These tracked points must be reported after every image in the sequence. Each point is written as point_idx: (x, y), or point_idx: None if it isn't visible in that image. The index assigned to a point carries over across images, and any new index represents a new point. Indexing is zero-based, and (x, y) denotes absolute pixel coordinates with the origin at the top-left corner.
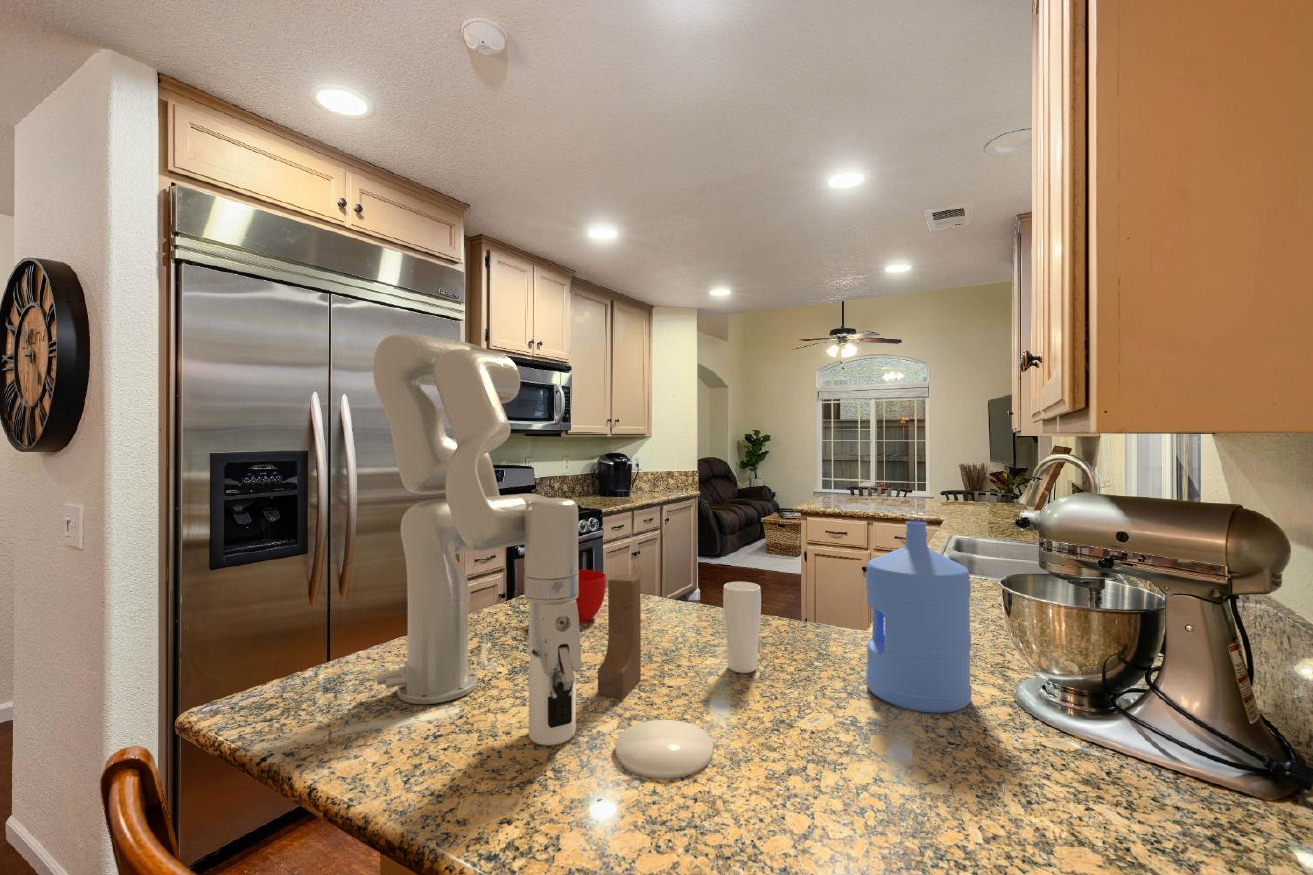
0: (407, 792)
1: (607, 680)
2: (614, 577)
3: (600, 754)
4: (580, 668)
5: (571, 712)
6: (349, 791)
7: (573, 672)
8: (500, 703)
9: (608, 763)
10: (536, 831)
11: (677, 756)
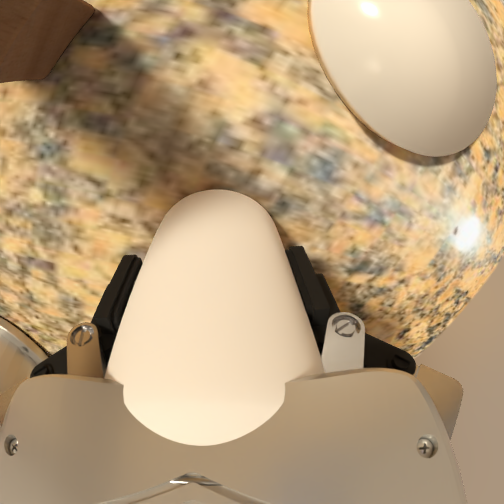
0: None
1: (34, 47)
2: None
3: (364, 169)
4: (413, 376)
5: (309, 262)
6: None
7: (459, 405)
8: (46, 301)
9: (401, 171)
10: (437, 308)
11: (474, 67)
